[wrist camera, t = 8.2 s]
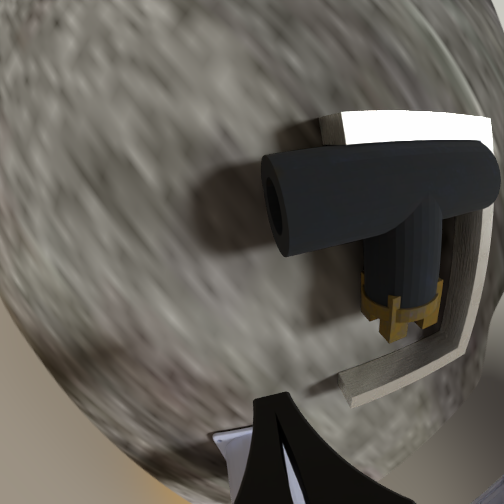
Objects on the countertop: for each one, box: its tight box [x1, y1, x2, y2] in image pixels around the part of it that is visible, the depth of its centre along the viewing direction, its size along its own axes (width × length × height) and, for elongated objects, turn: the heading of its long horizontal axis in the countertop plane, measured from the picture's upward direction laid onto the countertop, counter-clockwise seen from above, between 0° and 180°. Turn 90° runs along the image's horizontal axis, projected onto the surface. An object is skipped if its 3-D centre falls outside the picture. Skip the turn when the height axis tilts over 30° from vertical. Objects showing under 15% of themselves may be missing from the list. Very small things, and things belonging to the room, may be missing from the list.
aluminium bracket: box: [318, 111, 494, 409], centre depth 17 cm, size 21×13×3 cm, turn 11°
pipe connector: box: [261, 139, 501, 343], centre depth 15 cm, size 12×5×15 cm
